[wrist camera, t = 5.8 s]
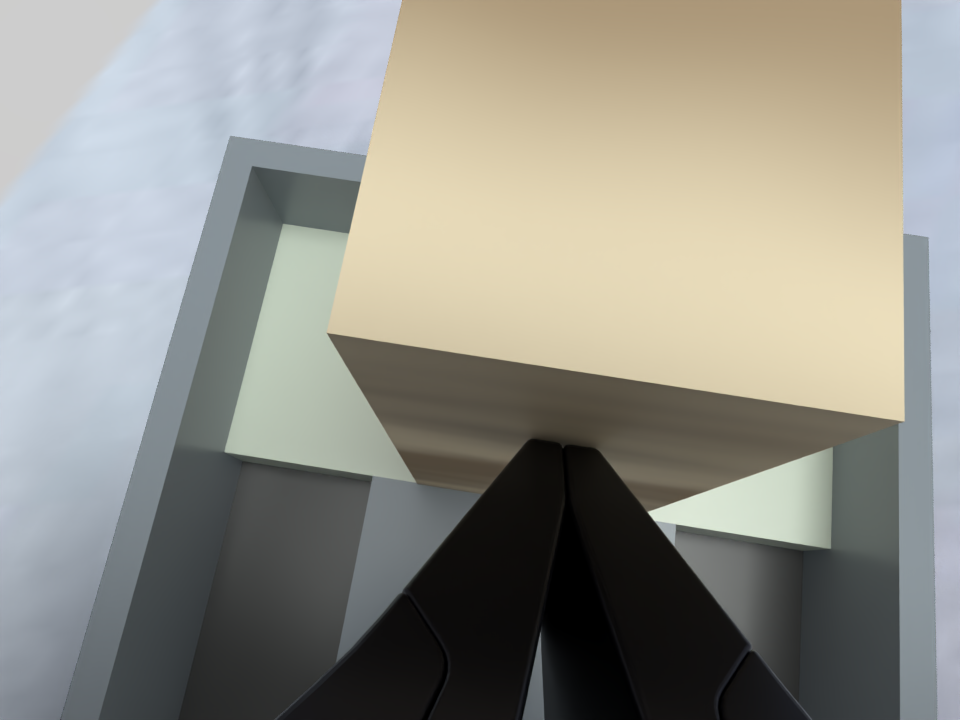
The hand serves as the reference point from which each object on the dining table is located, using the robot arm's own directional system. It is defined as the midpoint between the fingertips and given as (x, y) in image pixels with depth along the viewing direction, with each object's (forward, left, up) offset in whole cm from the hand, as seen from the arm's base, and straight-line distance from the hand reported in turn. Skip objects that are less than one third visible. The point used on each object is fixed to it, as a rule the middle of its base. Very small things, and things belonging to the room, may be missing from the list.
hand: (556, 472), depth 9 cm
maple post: (+3, 0, -7) cm, 7 cm away
